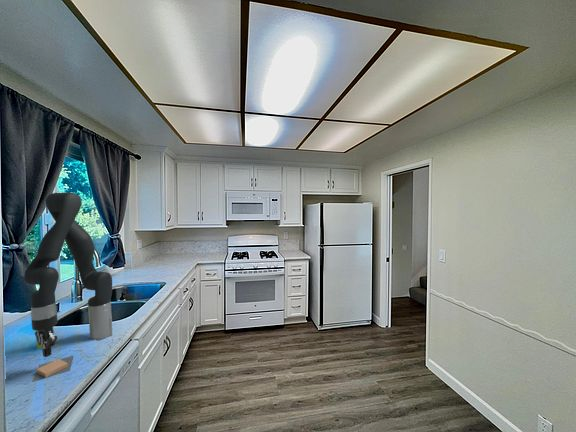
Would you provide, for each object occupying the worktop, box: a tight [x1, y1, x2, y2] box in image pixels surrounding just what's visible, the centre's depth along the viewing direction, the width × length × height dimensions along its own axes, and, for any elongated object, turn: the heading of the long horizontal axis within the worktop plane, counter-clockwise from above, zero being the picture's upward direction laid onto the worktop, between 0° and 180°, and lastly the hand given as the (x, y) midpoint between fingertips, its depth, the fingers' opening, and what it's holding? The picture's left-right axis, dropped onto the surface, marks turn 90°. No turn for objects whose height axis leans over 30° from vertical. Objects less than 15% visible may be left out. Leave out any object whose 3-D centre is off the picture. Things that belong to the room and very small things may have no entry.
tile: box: [36, 358, 68, 378], centre depth 102 cm, size 2×7×7 cm
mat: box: [31, 355, 74, 383], centre depth 103 cm, size 11×12×1 cm
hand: (47, 355), depth 103 cm, fingers closed
